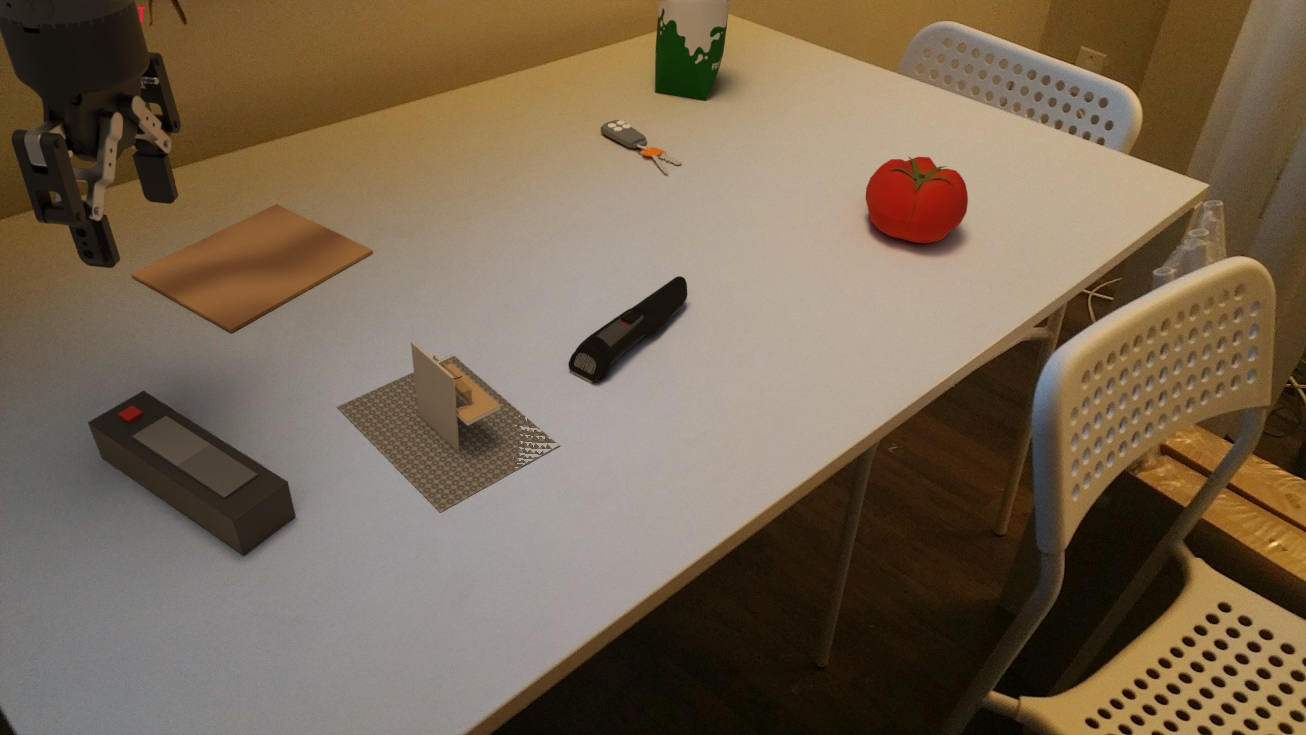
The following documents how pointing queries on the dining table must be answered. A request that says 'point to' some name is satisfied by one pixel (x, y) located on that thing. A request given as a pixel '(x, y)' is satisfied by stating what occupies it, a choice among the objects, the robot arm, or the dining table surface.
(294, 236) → the cork mat
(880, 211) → the tomato
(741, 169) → the dining table surface
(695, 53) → the milk carton
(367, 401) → the architectural model
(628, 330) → the electric trimmer
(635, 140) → the key chain
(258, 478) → the remote
